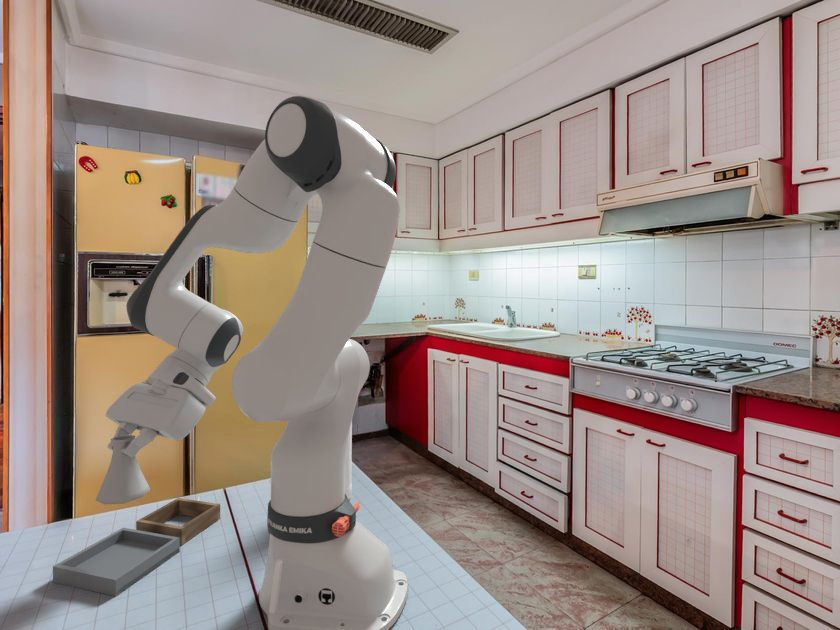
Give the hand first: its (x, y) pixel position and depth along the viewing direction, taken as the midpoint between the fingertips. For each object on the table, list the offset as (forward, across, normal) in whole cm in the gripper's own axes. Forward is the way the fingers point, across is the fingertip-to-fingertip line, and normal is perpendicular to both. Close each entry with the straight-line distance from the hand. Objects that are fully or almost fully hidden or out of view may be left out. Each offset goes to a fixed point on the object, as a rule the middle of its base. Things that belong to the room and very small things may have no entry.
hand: (119, 452), depth 74 cm
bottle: (-13, +13, +40) cm, 45 cm away
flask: (+5, 0, +6) cm, 8 cm away
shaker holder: (+5, -4, +22) cm, 23 cm away
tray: (+14, 0, +13) cm, 19 cm away
